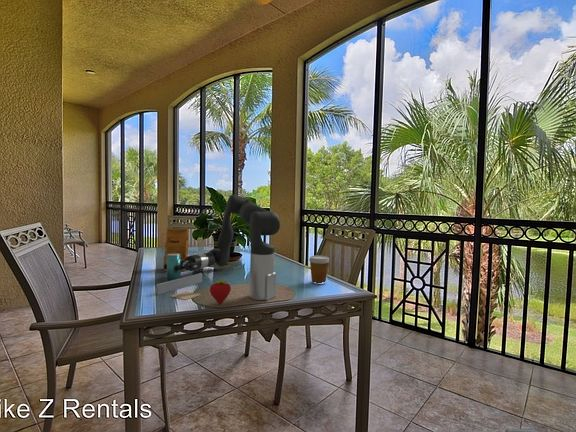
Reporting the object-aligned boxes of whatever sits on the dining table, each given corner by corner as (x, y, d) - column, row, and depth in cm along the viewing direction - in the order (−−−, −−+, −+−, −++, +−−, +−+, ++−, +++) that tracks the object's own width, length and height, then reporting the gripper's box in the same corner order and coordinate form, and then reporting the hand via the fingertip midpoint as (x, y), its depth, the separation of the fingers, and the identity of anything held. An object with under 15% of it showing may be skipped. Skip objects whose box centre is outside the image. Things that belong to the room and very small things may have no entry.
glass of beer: (318, 286, 145) (319, 259, 144) (304, 282, 152) (304, 256, 151) (333, 283, 151) (334, 257, 150) (318, 279, 158) (319, 254, 157)
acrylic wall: (202, 282, 147) (202, 273, 147) (158, 294, 126) (158, 284, 126) (200, 281, 148) (200, 272, 147) (156, 294, 126) (156, 284, 126)
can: (183, 280, 148) (183, 253, 148) (173, 283, 143) (173, 255, 143) (174, 278, 151) (174, 252, 151) (163, 281, 146) (163, 254, 145)
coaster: (200, 295, 127) (201, 294, 127) (185, 300, 120) (185, 299, 120) (186, 291, 131) (186, 291, 131) (170, 296, 124) (170, 295, 124)
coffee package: (166, 267, 175) (166, 226, 174) (190, 267, 176) (190, 227, 175) (161, 271, 165) (161, 228, 164) (186, 272, 166) (186, 228, 165)
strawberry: (208, 302, 119) (208, 275, 118) (228, 300, 122) (228, 273, 121) (211, 307, 114) (211, 278, 113) (232, 304, 117) (232, 277, 116)
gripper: (186, 252, 163) (158, 257, 148) (208, 255, 156) (181, 261, 141) (185, 267, 163) (158, 274, 148) (207, 271, 156) (181, 278, 141)
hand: (169, 267), depth 145 cm, fingers closed on can, 6 cm apart
